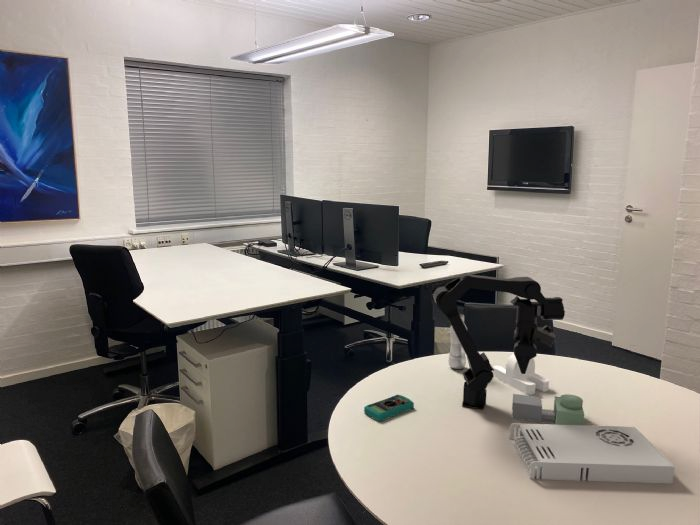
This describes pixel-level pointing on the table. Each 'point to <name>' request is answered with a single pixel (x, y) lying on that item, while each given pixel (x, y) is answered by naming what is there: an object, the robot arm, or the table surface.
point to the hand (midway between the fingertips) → (523, 368)
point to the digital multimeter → (388, 407)
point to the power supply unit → (590, 453)
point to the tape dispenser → (521, 376)
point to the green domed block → (565, 411)
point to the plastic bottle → (456, 350)
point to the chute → (527, 408)
